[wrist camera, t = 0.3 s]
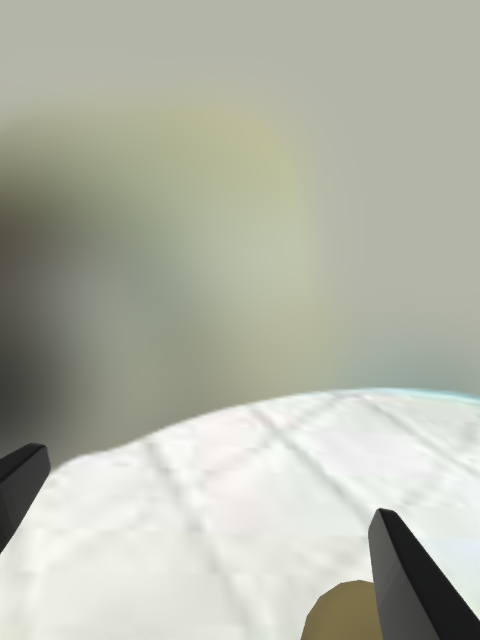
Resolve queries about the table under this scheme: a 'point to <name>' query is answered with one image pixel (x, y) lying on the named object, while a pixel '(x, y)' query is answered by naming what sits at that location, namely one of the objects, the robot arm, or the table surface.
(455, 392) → the table surface
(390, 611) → the robot arm
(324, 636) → the cork
